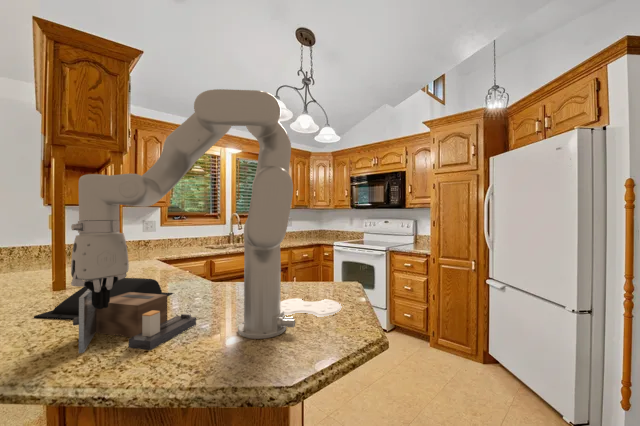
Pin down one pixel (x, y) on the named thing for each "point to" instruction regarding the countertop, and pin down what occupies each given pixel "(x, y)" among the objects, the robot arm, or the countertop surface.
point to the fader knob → (150, 323)
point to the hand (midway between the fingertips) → (100, 307)
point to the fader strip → (163, 332)
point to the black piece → (122, 286)
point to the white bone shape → (310, 307)
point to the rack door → (86, 320)
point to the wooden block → (129, 313)
